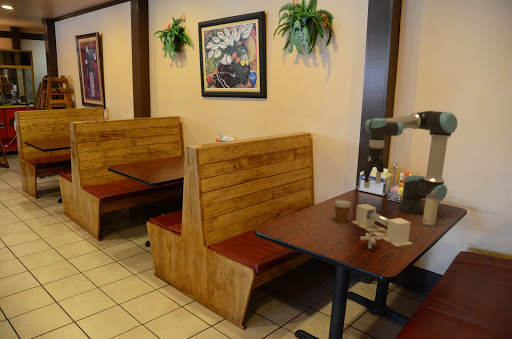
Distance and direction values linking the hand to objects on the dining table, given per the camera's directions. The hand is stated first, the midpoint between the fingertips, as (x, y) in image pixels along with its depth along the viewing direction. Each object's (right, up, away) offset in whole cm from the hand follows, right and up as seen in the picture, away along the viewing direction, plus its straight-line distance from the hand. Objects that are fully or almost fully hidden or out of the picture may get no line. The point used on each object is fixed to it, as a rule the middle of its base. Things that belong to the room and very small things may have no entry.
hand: (372, 185), depth 206 cm
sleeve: (-1, -23, +11) cm, 25 cm away
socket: (+9, -28, -12) cm, 32 cm away
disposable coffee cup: (-14, -22, +15) cm, 30 cm away
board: (+4, -26, 0) cm, 26 cm away
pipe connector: (-8, -30, -21) cm, 37 cm away
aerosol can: (+38, -23, +14) cm, 47 cm away
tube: (+3, -20, +2) cm, 20 cm away
